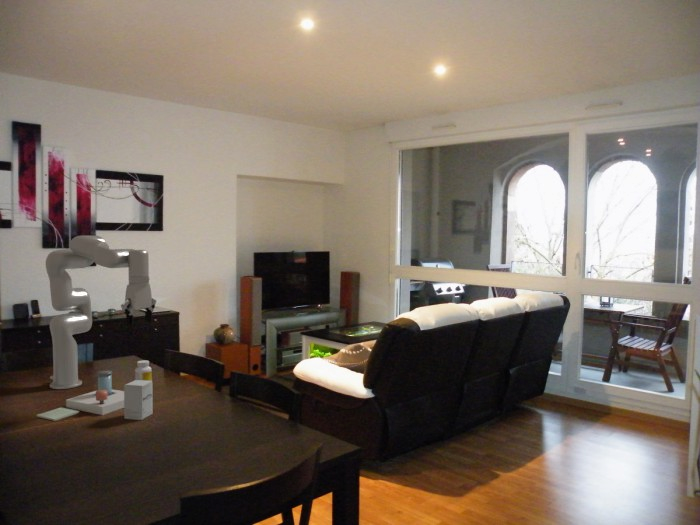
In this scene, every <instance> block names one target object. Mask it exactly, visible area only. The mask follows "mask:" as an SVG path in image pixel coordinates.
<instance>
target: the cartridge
mask: <svg viewBox="0 0 700 525" xmlns="http://www.w3.org/2000/svg"><path fill="white" fill-rule="evenodd" d="M112 375H113V371H112V370H100V371H96V376H97V390H107V396H109V395H112V389H113V387H112V386H113V385H112V384H113V382H112V381H113V380H112Z"/></svg>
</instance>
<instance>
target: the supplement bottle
mask: <svg viewBox="0 0 700 525" xmlns="http://www.w3.org/2000/svg"><path fill="white" fill-rule="evenodd" d="M136 363H137V364H136V365H137V367H136V368H135V369H134V381H135V380H146V381H153V376H152V375H153V374H152V372H153V370H152V367H151V366H149V365H150V361H149V360H147V359H146V360H145V359H144V360H138V361H136Z"/></svg>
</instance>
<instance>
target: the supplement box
mask: <svg viewBox="0 0 700 525" xmlns="http://www.w3.org/2000/svg"><path fill="white" fill-rule="evenodd" d="M123 387H124V388H123V391H124V410H123V411H124V414H123V416H124V419H127V420H137V421H143V420H144V419H146V418H148V417H149V416H152V415H153V410H154V406H153V405H154V402H153V401H154V399H153V398H154V396H153V392H154V391H153V390H154V389H153V380H152V381H146V380H135V379H134V380H133V381H130V382H128V383H125V384H124V385H123Z"/></svg>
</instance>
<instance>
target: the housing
mask: <svg viewBox="0 0 700 525" xmlns="http://www.w3.org/2000/svg"><path fill="white" fill-rule="evenodd" d="M96 391H98V389H97V390H94V391H90V392H88V393H84V394H79V395H77V396H73V397H70V398H68V399H65V408H67V409H72V410H77V411H82V412H87V413H91V414H96V415H101V416H104V415H106V414H109V413H112V412H115V411H119V410H121V409H123V408H124V390H120V389H119V390H118V389H113V388H112V395H109V396H107V399H106V400H104V404H100V401H97V400H96Z"/></svg>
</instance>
